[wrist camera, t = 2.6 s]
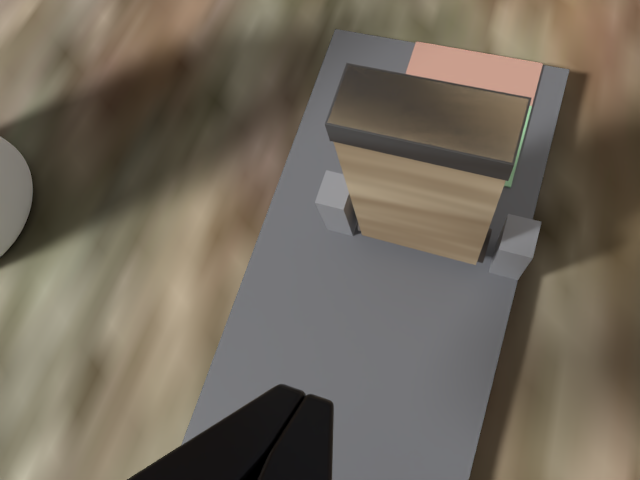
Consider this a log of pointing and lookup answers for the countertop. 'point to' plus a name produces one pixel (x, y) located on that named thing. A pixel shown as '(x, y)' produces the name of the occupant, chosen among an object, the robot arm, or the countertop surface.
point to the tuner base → (382, 287)
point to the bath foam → (13, 194)
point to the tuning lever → (425, 157)
